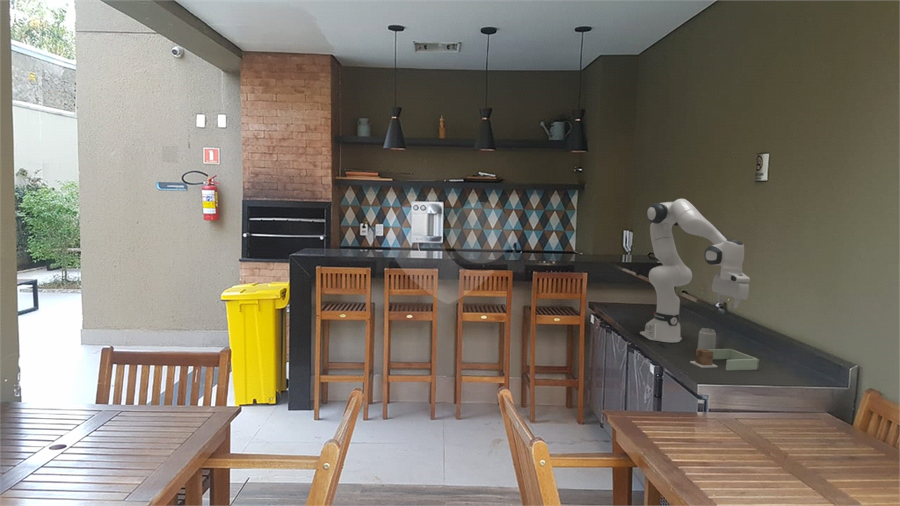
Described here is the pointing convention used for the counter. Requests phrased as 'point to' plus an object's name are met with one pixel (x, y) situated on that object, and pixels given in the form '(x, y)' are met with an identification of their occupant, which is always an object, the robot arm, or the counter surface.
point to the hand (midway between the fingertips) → (727, 305)
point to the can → (706, 339)
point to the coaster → (703, 365)
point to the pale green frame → (736, 359)
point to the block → (704, 357)
